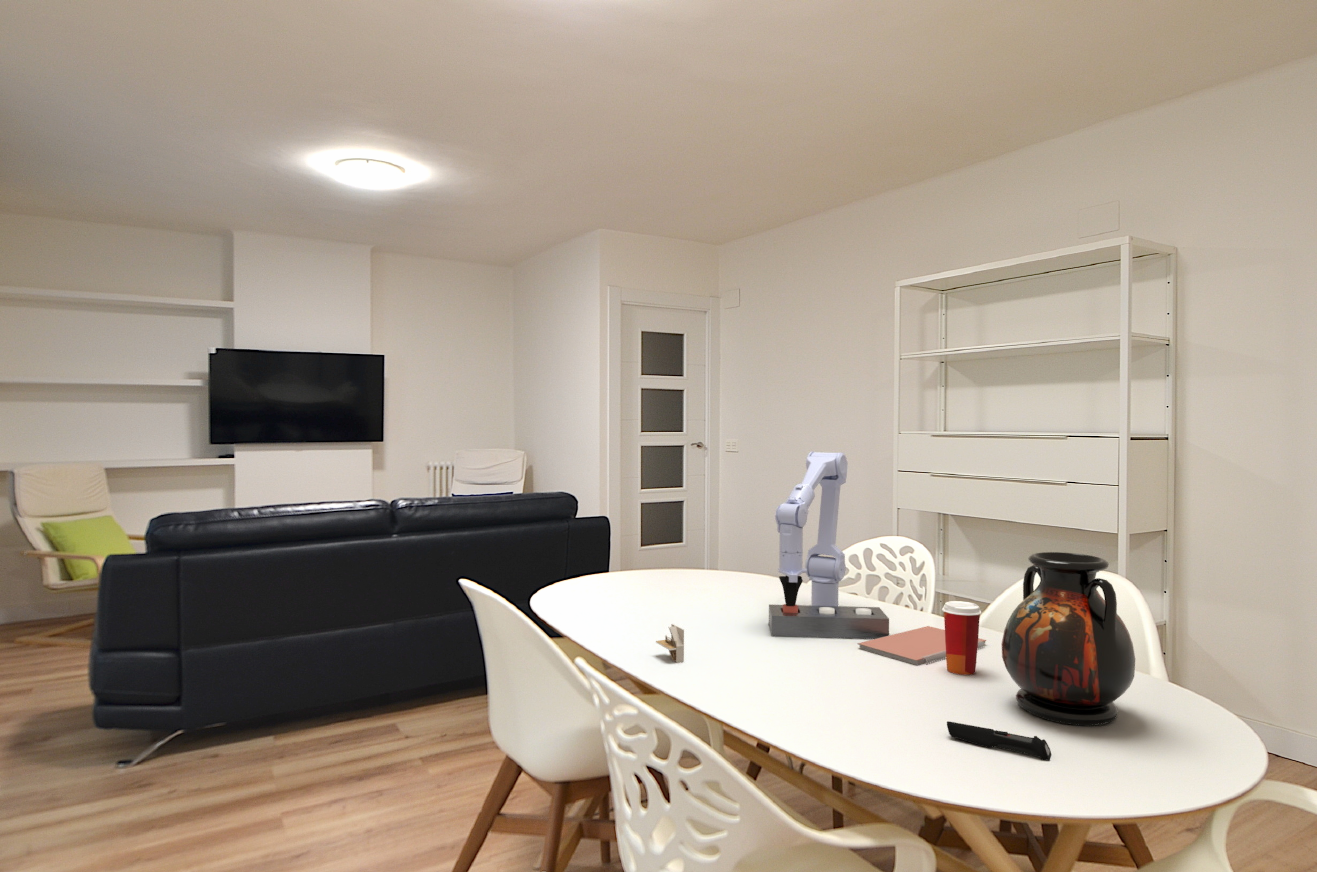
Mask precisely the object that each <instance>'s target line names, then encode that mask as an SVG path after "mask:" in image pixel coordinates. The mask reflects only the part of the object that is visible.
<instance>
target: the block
mask: <svg viewBox="0 0 1317 872" xmlns="http://www.w3.org/2000/svg"><path fill="white" fill-rule="evenodd" d="M797 605H798V613H784V612H783V604H768V627H769V631H770V632H769V633H770V635H771V637H782V638H783V637H785V638H786V637H787V638H817V639H818V638H819V639H820V638H821V639H823V638H825V639H857V640H873V639H877V638H881V637H885V636H889V635H890V617H888V615H886V613H885V612H884V610H882V608H880V607H879V606H842V605H838V606H811V605H805V604H803V605H800V604H797ZM820 607H831V608H834V609H835V614H822V613H819V608H820ZM857 608H868V609H871V615H861V614H856V609H857Z"/></svg>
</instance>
